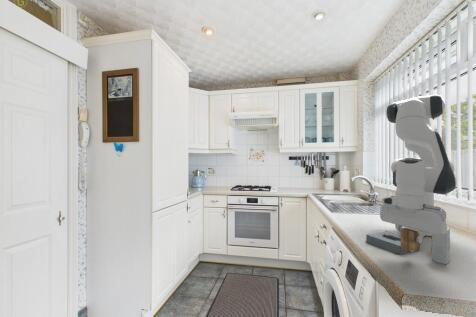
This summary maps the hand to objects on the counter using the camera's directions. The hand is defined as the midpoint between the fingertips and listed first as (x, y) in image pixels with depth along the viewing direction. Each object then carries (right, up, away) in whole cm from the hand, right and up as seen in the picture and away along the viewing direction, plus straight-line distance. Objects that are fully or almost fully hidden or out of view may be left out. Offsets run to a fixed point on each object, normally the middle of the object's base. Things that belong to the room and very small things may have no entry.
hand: (409, 239), depth 80 cm
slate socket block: (+4, -8, +15) cm, 17 cm away
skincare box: (+12, -8, +1) cm, 15 cm away
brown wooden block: (0, -3, 0) cm, 3 cm away
